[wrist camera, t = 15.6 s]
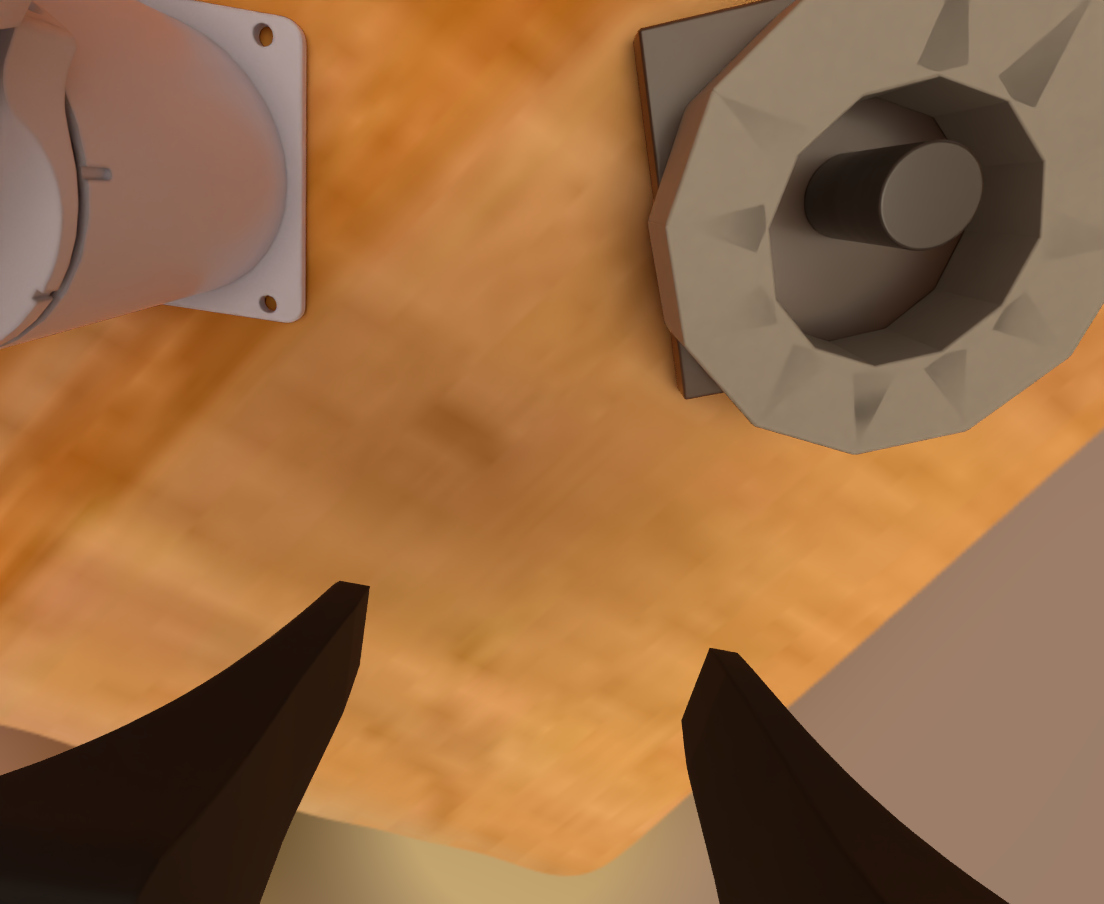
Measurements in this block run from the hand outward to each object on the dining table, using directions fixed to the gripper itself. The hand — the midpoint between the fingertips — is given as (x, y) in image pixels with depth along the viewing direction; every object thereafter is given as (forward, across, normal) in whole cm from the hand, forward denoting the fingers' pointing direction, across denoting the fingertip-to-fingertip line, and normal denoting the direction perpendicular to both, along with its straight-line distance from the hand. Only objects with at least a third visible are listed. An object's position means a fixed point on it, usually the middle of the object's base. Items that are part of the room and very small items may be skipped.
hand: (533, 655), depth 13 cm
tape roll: (+8, -7, -10) cm, 14 cm away
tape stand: (+9, -6, -10) cm, 15 cm away
